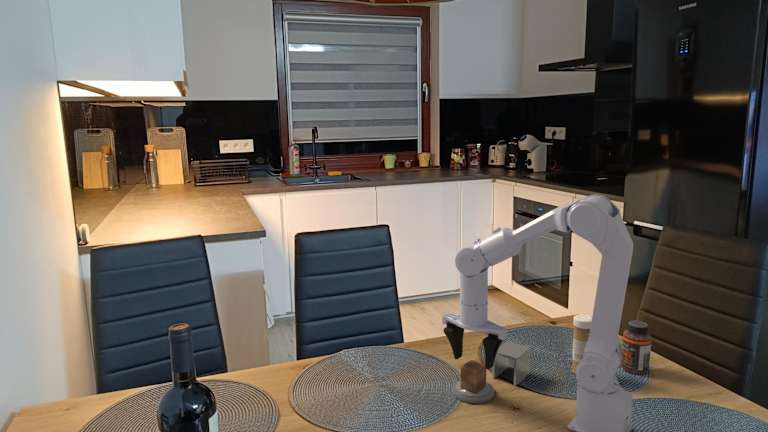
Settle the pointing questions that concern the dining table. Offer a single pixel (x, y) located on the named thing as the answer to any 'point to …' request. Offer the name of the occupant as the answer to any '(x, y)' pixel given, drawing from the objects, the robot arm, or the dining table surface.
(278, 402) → the dining table surface
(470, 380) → the block
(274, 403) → the dining table surface
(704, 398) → the dining table surface
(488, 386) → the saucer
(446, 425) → the dining table surface
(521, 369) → the cover
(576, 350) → the sprinkles bottle
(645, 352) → the supplement bottle
